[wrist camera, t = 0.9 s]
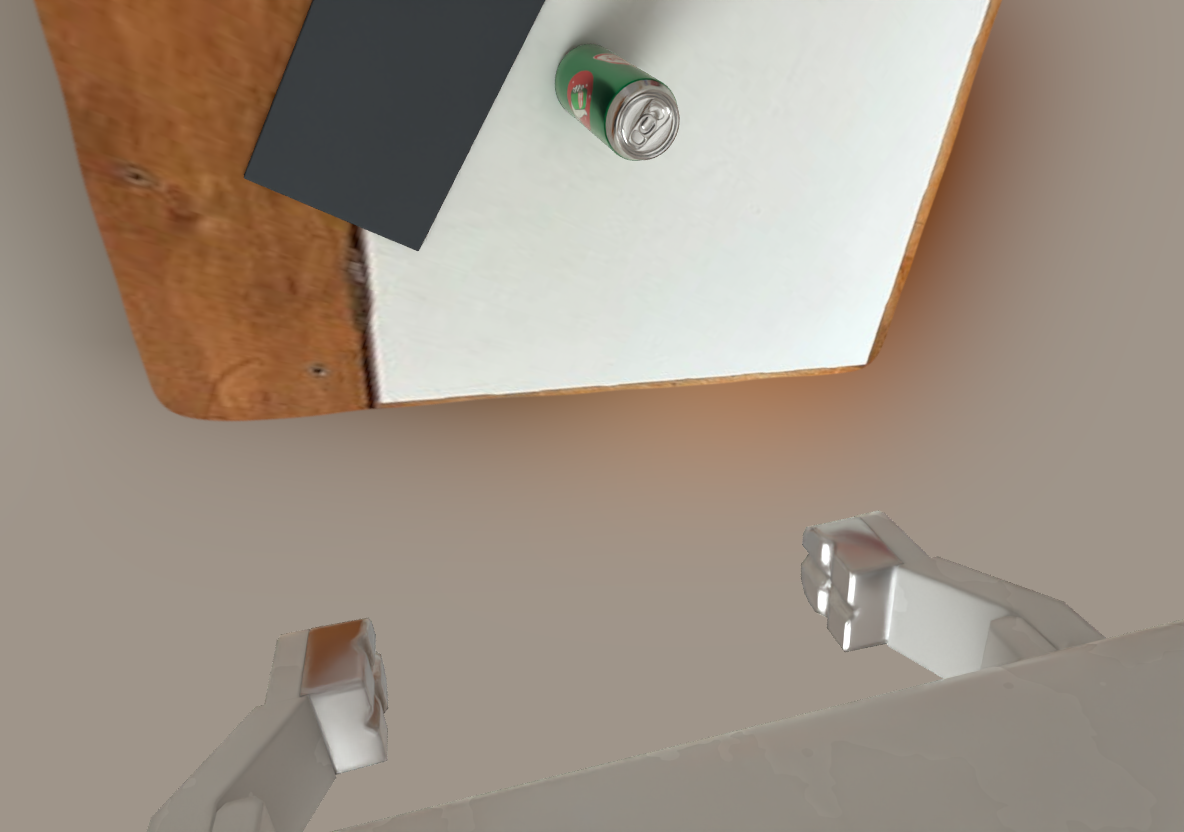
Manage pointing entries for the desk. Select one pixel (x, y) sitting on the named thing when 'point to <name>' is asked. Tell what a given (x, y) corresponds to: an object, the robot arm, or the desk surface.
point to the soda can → (617, 102)
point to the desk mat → (386, 106)
